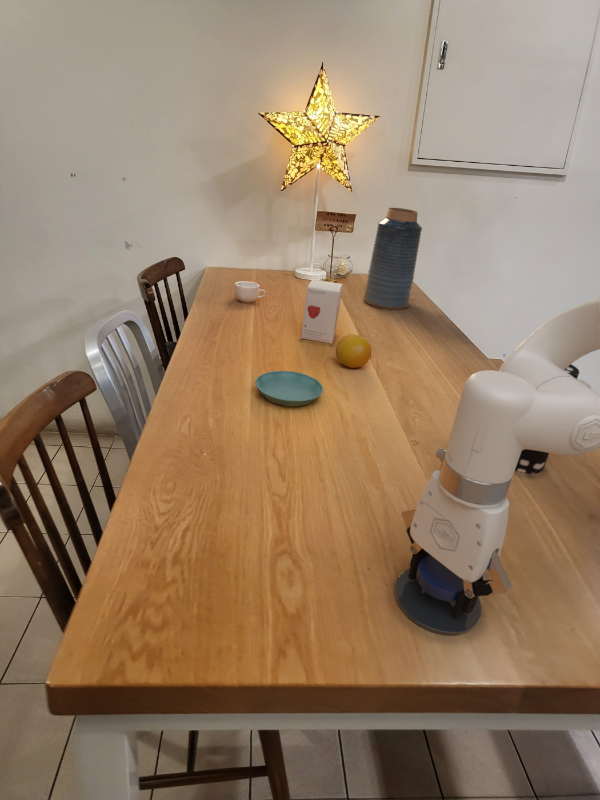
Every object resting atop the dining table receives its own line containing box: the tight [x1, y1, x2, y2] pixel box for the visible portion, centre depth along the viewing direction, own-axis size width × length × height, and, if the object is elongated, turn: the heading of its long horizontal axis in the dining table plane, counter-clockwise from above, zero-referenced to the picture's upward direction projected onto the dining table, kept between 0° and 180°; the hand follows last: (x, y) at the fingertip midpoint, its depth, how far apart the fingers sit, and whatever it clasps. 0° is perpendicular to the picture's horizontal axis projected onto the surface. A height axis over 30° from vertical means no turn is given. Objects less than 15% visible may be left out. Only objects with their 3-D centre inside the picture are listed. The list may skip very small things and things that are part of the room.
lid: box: [416, 554, 464, 602], centre depth 68 cm, size 6×7×2 cm
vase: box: [363, 207, 423, 311], centre depth 184 cm, size 16×16×32 cm
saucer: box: [254, 370, 324, 408], centre depth 117 cm, size 15×15×3 cm
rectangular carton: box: [300, 278, 344, 344], centre depth 150 cm, size 9×9×15 cm
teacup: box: [234, 280, 266, 304], centre depth 175 cm, size 10×8×5 cm
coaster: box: [394, 567, 483, 637], centre depth 69 cm, size 11×11×1 cm
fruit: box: [335, 333, 372, 369], centre depth 135 cm, size 9×8×8 cm
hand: (438, 592), depth 69 cm, fingers closed on lid, 6 cm apart
